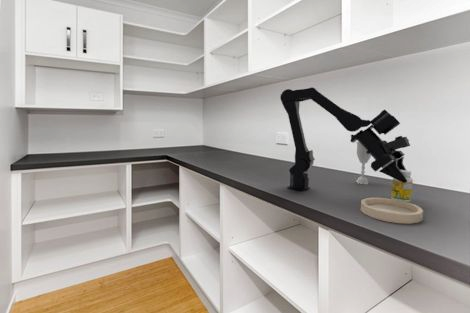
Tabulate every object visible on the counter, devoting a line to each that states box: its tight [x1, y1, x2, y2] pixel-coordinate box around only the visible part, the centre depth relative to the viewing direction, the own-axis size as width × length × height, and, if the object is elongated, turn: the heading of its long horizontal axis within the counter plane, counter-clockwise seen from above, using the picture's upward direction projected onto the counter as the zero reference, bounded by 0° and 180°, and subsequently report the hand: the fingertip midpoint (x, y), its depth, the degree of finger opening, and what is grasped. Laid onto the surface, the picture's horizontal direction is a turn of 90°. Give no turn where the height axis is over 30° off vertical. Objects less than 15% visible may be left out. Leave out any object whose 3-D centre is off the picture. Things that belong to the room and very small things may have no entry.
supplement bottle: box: [390, 169, 413, 203], centre depth 80 cm, size 5×5×10 cm
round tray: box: [360, 197, 424, 225], centre depth 72 cm, size 15×15×2 cm
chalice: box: [355, 141, 372, 185], centre depth 109 cm, size 7×7×18 cm
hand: (407, 180), depth 79 cm, fingers closed on supplement bottle, 5 cm apart
